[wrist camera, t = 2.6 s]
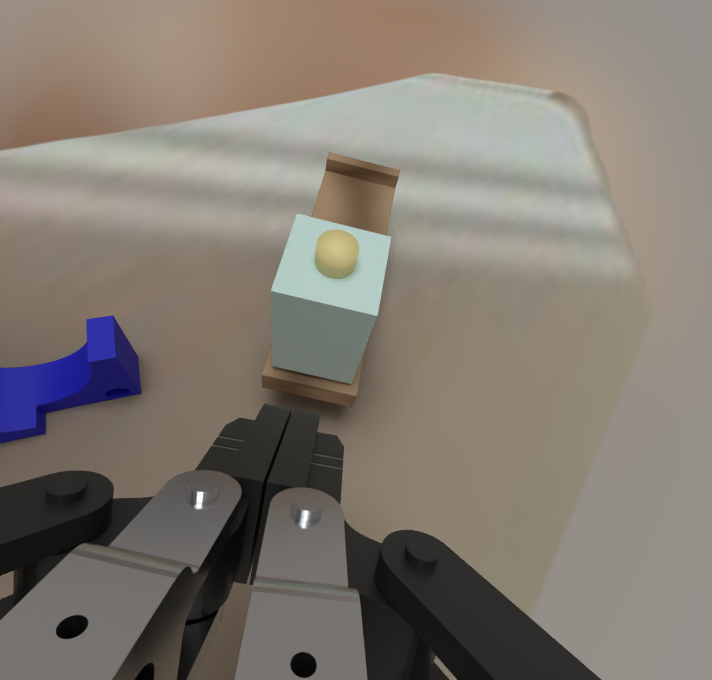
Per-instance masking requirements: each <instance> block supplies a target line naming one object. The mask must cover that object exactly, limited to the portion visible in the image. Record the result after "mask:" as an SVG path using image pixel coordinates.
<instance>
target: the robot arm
mask: <svg viewBox="0 0 712 680" xmlns="http://www.w3.org/2000/svg"><path fill="white" fill-rule="evenodd" d="M291 412H292V409H291V408H285V407H280V406H275V405H269V404H264V405H263V407H262V408H261V410H260V412H259V414H258V416H257V418H256V419H255V420H249V419H244V418H238V419H237V420H235V421H233V422H231V423H229V424H227V425H226V426H225V427H224V428H223V430H222V431H221V433H220V434H219V437H217V439H216V440H215V442H214V443H213V446H211V447H210V449H209V450H208V452H207V453H206V455H205V456H204V458H203V459H202V461H201V462H200V464H199V465H198V466H197V468H196V469H195V471H189V472H185V473H182V474H179V475H177V476H175V477H173V478H172V479H170V480H169V481H168V482H167V483H166V484H165V485H164V486H163V487H162V489H161V490H160V491H159V492H158V493H157V494H156V495H155V496H154V497H146V498H120V499H113V491H114V487H113V484H112V482H111V481H110V480H109V479H108V478H107V477H105V476H103V475H101V474H98V473H94V472H90V471H64V472H58V473H54V474H49V475H46V476H42V477H38V478H34V479H31V480H27V481H23V482H20V483H16V484H12V485H8V486H5V487H1V488H0V576H1V575H3V574H6V573H8V572H11V571H13V570H14V591H13V594H12V595H10V596H8V597H5V598H3V599H1V600H0V680H194V679H195V676H196V674H197V672H198V670H199V668H200V665H201V663H202V661H203V659H204V656H205V654H206V652H207V650H208V647H209V645H210V643H211V641H212V638H213V636H214V634H215V632H216V630H217V627H218V625H219V623H220V621H221V618H222V615H223V609H224V603H225V601H226V600H227V598H228V596H229V593H230V590H231V587H232V585H233V582H237V583H243V584H246V583H247V580H248V577H249V574H250V570H251V567H252V564H253V567H252V573H251V579H250V585H253V588H252V593H251V598H250V603H249V608H248V613H247V618H246V623H245V629H244V634H243V639H242V644H241V649H240V654H239V659H238V664H237V669H236V674H235V679H234V680H449V679H448V678H447V676H446V675H445V674H444V673H443V672H442V671H441V669H440V668H439V667H438V666H437V665H436V664H435V663H434V659H435V656H437V657H438V658H439V659H440V660H441V662H442V663H443V664H444V665H445V666H446V667H447V668H448V670H449V671H450V672H451V673H452V674H453V675H454V676H455V678H456V679H457V680H601V679H600V678H599V677H598V676H596V675H595V674H594V673H593V672H592V671H590V670H589V669H588V668H587V667H586V666H585V665H584V664H582V663H581V662H580V661H579V660H578V659H577V658H576V657H574V656H573V655H572V654H571V653H570V652H569V651H568V650H566V649H565V648H564V647H563V646H562V645H561V644H559V643H558V642H557V641H556V640H555V639H554V638H552V637H551V636H550V635H549V634H548V633H547V632H546V631H544V630H543V629H542V628H541V627H540V626H539V625H538V624H536V623H535V622H534V621H533V620H532V619H531V618H529V617H528V616H527V615H526V614H525V613H524V612H523V611H521V610H520V609H519V608H518V607H517V606H516V605H514V604H513V603H512V602H511V601H510V600H509V599H508V598H506V597H505V596H504V595H503V594H502V593H501V592H499V591H498V590H497V589H496V588H495V587H494V586H493V585H491V584H490V583H489V582H488V581H487V580H486V579H484V578H483V577H482V576H481V575H480V574H479V573H478V572H476V571H475V570H474V569H473V568H472V567H471V566H469V565H468V564H467V563H466V562H465V561H464V560H463V559H461V558H460V557H459V556H458V555H457V554H456V553H454V552H453V551H452V550H451V549H450V548H449V547H448V546H446V545H445V544H444V543H443V542H441V541H440V540H438V539H436V538H435V537H432V536H430V535H428V534H425V533H422V532H419V531H413V530H400V531H396V532H393V533H391V534H389V535H388V536H387V537H386V538H385V539H384V540H383V543H382V544H381V543H379V542H377V541H374V540H372V539H370V538H367V537H365V536H363V535H361V534H360V533H358V532H357V531H355V530H354V529H353V528H352V527H350V526H349V525H348V523H347V522H346V521H345V520H344V514H343V510H342V507H341V506H340V500H341V485H342V468H343V455H344V446H343V444H342V443H341V441H340V440H339V438H338V437H337V436H335V435H330V434H325V433H319V432H317V430H318V425H319V420H320V414H318V413H312V412H307V411H302V410H296V409H294V410H293V412H292V415H291Z"/></svg>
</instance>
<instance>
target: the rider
mask: <svg viewBox="0 0 712 680" xmlns="http://www.w3.org/2000/svg"><path fill="white" fill-rule="evenodd" d="M390 242H391V237H390V236H386V235H382V234H378V233H374V232H369V231H365V230H361V229H357V228H353V227H349V226H345V225H341V224H337V223H333V222H329V221H325V220H321V219H317V218H313V217H309V216H305V215H301V214H297V215H296V218H295V221H294V224H293V227H292V230H291V233H290V236H289V239H288V242H287V245H286V248H285V251H284V254H283V257H282V260H281V263H280V266H279V269H278V272H277V275H276V277H275V280H274V283H273V286H272V289H271V330H272V366H274V367H279V368H283V369H287V370H292V371H296V372H301V373H305V374H309V375H314V376H318V377H323V378H327V379H331V380H336V381H340V382H345V383H349V384H352V381H353V379H354V376H355V373H356V371H357V368H358V365H359V363H360V360H361V358H362V355H363V352H364V350H365V347H366V345H367V342H368V339H369V337H370V334H371V332H372V329H373V326H374V324H375V321H376V318H377V316H378V310H379V304H380V299H381V293H382V287H383V282H384V276H385V270H386V265H387V259H388V254H389V248H390Z"/></svg>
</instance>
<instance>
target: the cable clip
mask: <svg viewBox="0 0 712 680" xmlns="http://www.w3.org/2000/svg"><path fill="white" fill-rule="evenodd" d="M136 394H141V385H140V374H139V363H138V356H137V354H136V353H135V351H134V349H133V348H132V346H131V344H130V343H129V341H128V339H127V338H126V336H125V334H124V333H123V331H122V330H121V328H120V326H119V325H118V323H117V321H116V320H115V318H114V316H106V317H100V318H93V319H87V343H86V344H85V345H84V346H83V347H82V348H81V349H79V350H78V351H76V352H75V353H73V354H71V355H69V356H67V357H65V358H62V359H59V360H56V361H53V362H49V363H45V364H40V365H34V366H27V367H16V368H0V443H3V442H8V441H13V440H17V439H22V438H27V437H32V436H36V435H41V434H45V425H46V412H51V411H56V410H61V409H66V408H71V407H76V406H81V405H86V404H91V403H96V402H101V401H106V400H111V399H116V398H121V397H126V396H131V395H136Z"/></svg>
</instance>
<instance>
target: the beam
mask: <svg viewBox="0 0 712 680" xmlns="http://www.w3.org/2000/svg"><path fill="white" fill-rule="evenodd" d="M399 172H400V170H396V169H393V168H389V167H385V166H381V165H377V164H373V163H369V162H365V161H361V160H357V159H353V158H350V157H346V156H342V155H338V154H334V153H330V152H329V154H328V157H327V163H326V171H325V174H324V177H323V181H322V184H321V187H320V190H319V193H318V197H317V200H316V203H315V206H314V209H313V213H312V216H311V217H313V218H317V219H321V220H325V221H329V222H333V223H337V224H341V225H345V226H349V227H353V228H357V229H361V230H365V231H369V232H374V233H378V234H382V235H387V230H388V224H389V219H390V213H391V208H392V203H393V197H394V192H395V187H396V184H397V181H398V177H399ZM365 348H366V347H365ZM364 354H365V350H364V352H363V355H362V358H361V360H360V363H359V365H358V368H357V371H356V373H355V376H354V379H353V381H352V384H349V383H345V382H340V381H336V380H331V379H327V378H323V377H318V376H314V375H309V374H305V373H301V372H296V371H292V370H287V369H283V368H279V367H274V366H272V344H271V347H270V350H269V354H268V357H267V360H266V363H265V366H264V370H263V373H262V385H263V387H264V388H268V389H273V390H277V391H281V392H286V393H290V394H295V395H299V396H304V397H308V398H313V399H317V400H322V401H326V402H330V403H335V404H339V405H344V406H348V407H352V406H353V403H354V401H355V399H356V396H357V391H358V386H359V381H360V375H361V370H362V364H363V359H364Z"/></svg>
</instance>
